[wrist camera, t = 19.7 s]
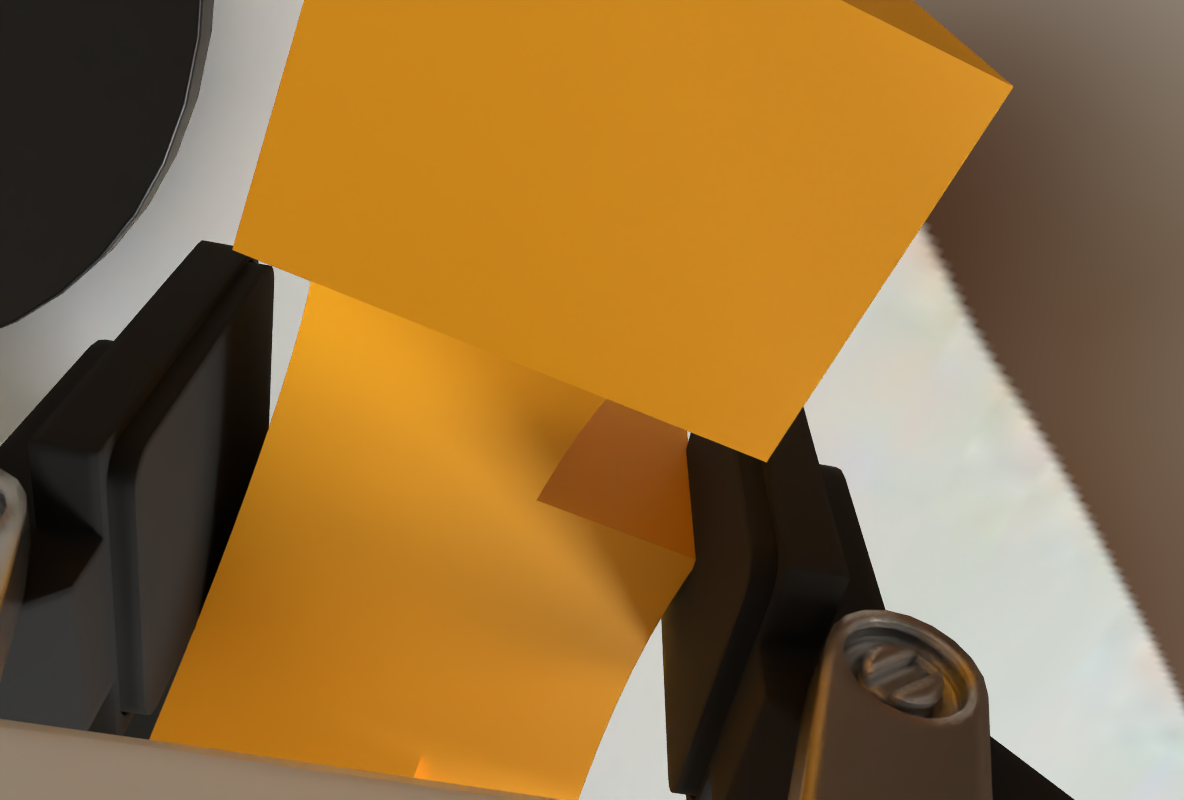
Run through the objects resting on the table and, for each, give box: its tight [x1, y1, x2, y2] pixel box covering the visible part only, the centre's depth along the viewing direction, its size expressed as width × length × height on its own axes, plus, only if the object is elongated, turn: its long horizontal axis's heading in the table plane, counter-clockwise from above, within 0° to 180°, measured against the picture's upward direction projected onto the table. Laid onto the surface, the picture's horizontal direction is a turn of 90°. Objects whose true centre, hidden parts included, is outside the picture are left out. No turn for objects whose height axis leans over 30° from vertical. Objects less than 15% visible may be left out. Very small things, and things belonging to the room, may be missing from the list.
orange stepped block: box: [149, 0, 1013, 800], centre depth 10 cm, size 12×4×6 cm, turn 156°
